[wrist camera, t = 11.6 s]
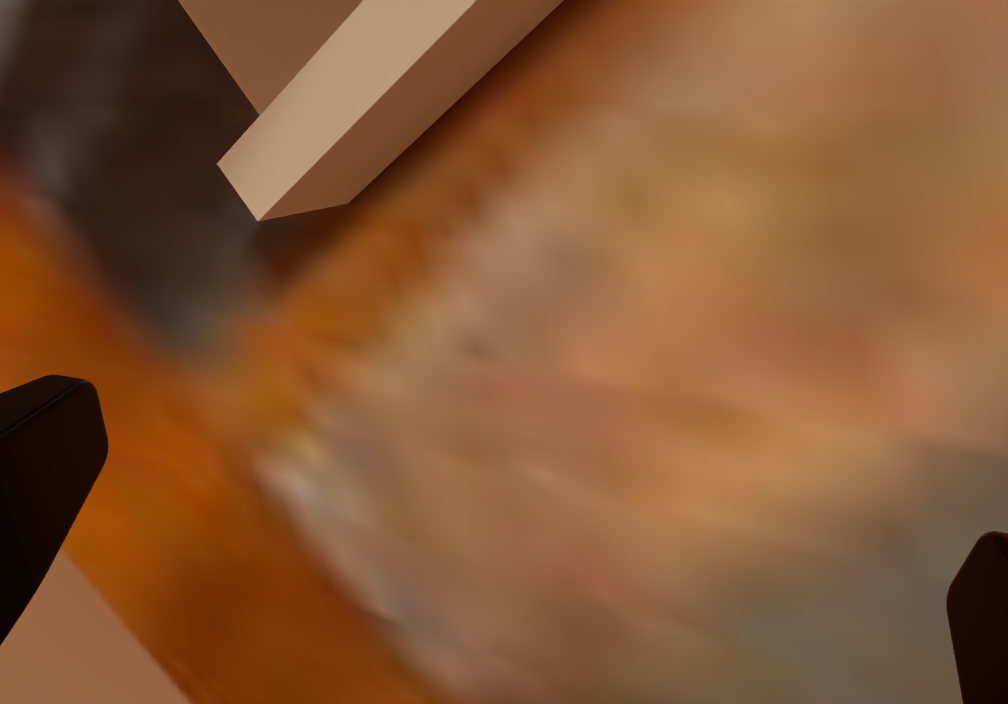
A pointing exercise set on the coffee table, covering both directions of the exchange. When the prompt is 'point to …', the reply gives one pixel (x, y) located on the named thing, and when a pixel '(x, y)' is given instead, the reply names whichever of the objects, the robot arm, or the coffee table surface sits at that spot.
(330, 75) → the cleat board
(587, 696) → the coffee table surface
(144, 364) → the coffee table surface
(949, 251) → the coffee table surface
